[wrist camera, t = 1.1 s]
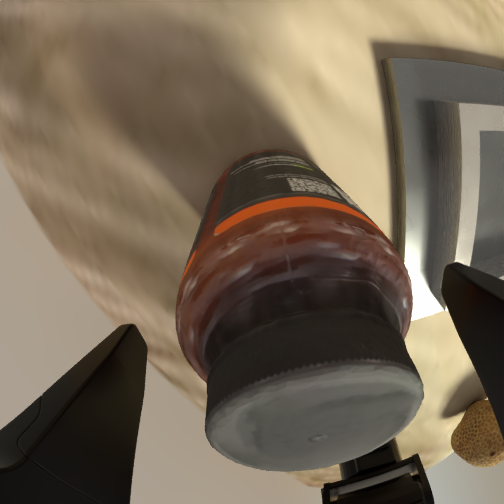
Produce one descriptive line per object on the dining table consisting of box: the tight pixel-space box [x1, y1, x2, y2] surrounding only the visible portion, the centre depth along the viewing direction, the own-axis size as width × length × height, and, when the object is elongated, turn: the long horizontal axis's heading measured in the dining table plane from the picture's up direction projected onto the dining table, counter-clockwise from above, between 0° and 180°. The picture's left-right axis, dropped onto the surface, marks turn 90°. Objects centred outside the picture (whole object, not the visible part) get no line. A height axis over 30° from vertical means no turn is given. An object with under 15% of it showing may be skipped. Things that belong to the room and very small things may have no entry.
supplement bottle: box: [176, 150, 424, 472], centre depth 9 cm, size 6×6×11 cm
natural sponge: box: [451, 400, 504, 467], centre depth 22 cm, size 9×9×10 cm
